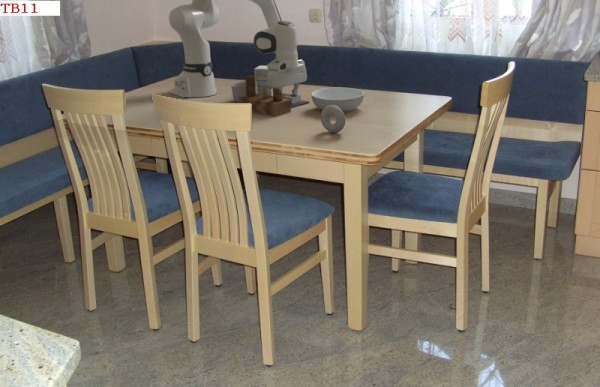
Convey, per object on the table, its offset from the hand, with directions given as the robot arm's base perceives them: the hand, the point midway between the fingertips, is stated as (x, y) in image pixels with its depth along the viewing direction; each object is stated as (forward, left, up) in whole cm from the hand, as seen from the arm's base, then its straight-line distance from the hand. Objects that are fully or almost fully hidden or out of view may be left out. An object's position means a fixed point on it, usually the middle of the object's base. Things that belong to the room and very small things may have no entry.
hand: (288, 96), depth 305 cm
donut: (+43, -23, -4) cm, 49 cm away
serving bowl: (+23, +4, -4) cm, 24 cm away
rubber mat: (0, 0, -3) cm, 3 cm away
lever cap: (0, 0, -3) cm, 3 cm away
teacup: (-18, -7, -4) cm, 20 cm away
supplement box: (-18, +5, -4) cm, 19 cm away
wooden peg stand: (0, -14, -3) cm, 14 cm away
